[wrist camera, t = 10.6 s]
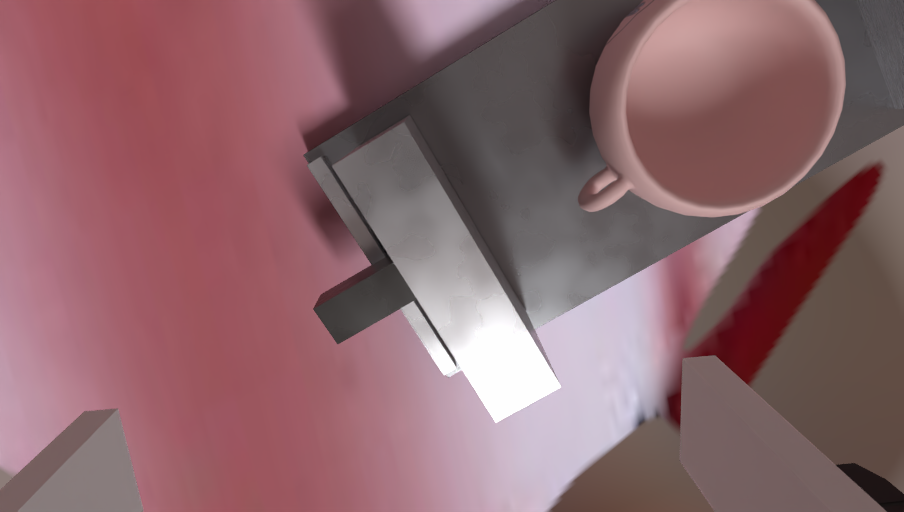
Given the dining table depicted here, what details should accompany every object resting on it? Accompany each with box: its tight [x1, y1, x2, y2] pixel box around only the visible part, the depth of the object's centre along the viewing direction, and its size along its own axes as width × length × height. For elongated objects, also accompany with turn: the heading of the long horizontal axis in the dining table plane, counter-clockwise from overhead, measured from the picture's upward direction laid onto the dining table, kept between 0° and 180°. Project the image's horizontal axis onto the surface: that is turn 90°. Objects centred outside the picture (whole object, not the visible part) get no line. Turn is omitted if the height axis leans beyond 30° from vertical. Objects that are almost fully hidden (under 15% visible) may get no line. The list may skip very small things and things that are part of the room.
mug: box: [578, 0, 846, 217], centre depth 27 cm, size 12×10×6 cm
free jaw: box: [313, 115, 561, 422], centre depth 27 cm, size 12×8×8 cm, turn 30°
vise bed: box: [304, 0, 904, 377], centre depth 26 cm, size 14×30×9 cm, turn 120°
